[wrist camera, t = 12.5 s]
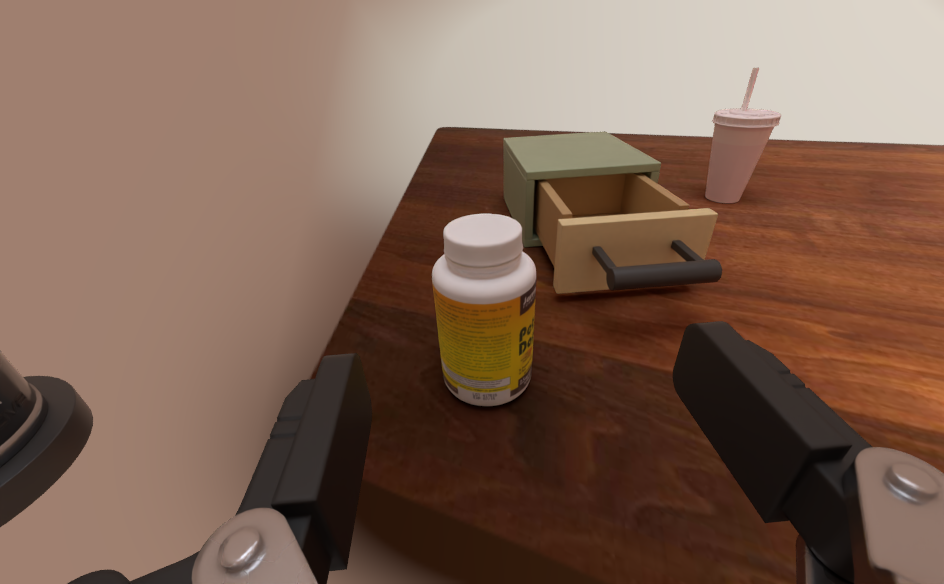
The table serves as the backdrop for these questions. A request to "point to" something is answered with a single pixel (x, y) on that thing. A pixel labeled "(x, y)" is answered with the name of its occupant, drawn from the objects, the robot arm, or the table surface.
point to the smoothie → (737, 147)
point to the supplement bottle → (485, 309)
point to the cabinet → (563, 167)
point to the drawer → (621, 234)
